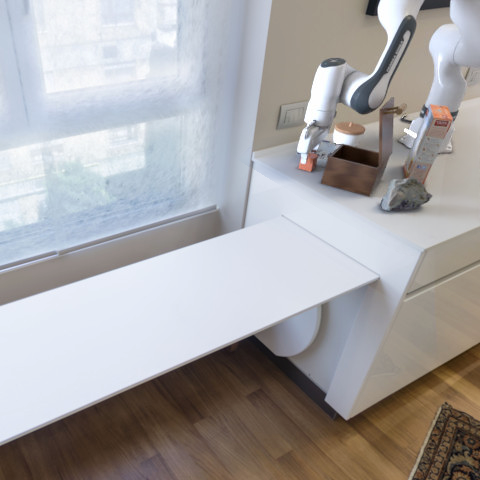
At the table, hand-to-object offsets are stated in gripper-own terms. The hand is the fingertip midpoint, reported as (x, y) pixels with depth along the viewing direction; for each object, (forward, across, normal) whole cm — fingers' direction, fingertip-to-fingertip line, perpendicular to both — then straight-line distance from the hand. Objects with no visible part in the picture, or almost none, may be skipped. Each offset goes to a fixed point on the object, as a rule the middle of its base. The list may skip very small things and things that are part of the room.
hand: (308, 158), depth 151 cm
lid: (-14, -2, -21) cm, 25 cm away
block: (+3, 0, 0) cm, 3 cm away
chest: (+3, -2, -16) cm, 17 cm away
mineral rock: (+4, -10, -34) cm, 36 cm away
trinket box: (+3, +26, -5) cm, 27 cm away
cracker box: (+3, +16, -32) cm, 36 cm away
